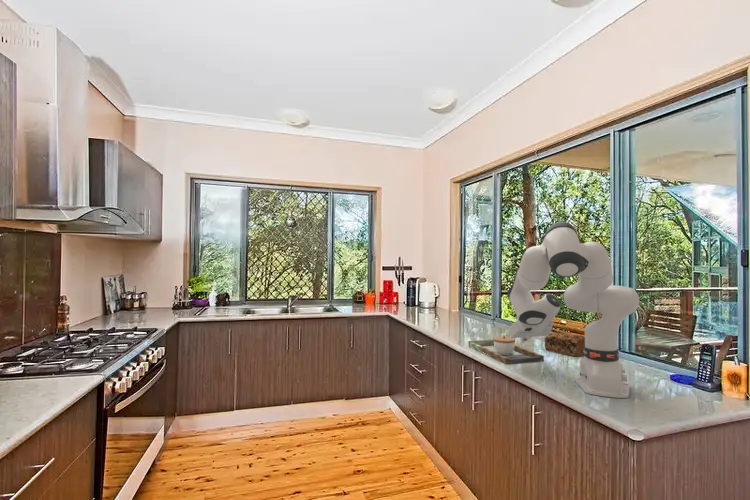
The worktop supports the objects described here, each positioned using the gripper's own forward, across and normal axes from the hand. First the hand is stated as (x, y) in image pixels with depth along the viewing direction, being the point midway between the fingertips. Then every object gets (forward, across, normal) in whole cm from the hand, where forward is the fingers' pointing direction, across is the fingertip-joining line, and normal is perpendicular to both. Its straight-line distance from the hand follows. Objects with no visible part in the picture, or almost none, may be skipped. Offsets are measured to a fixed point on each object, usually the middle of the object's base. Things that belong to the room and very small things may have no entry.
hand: (523, 339), depth 185 cm
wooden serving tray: (+21, -2, -6) cm, 22 cm away
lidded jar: (+21, -2, -5) cm, 21 cm away
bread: (+15, -34, 0) cm, 37 cm away
